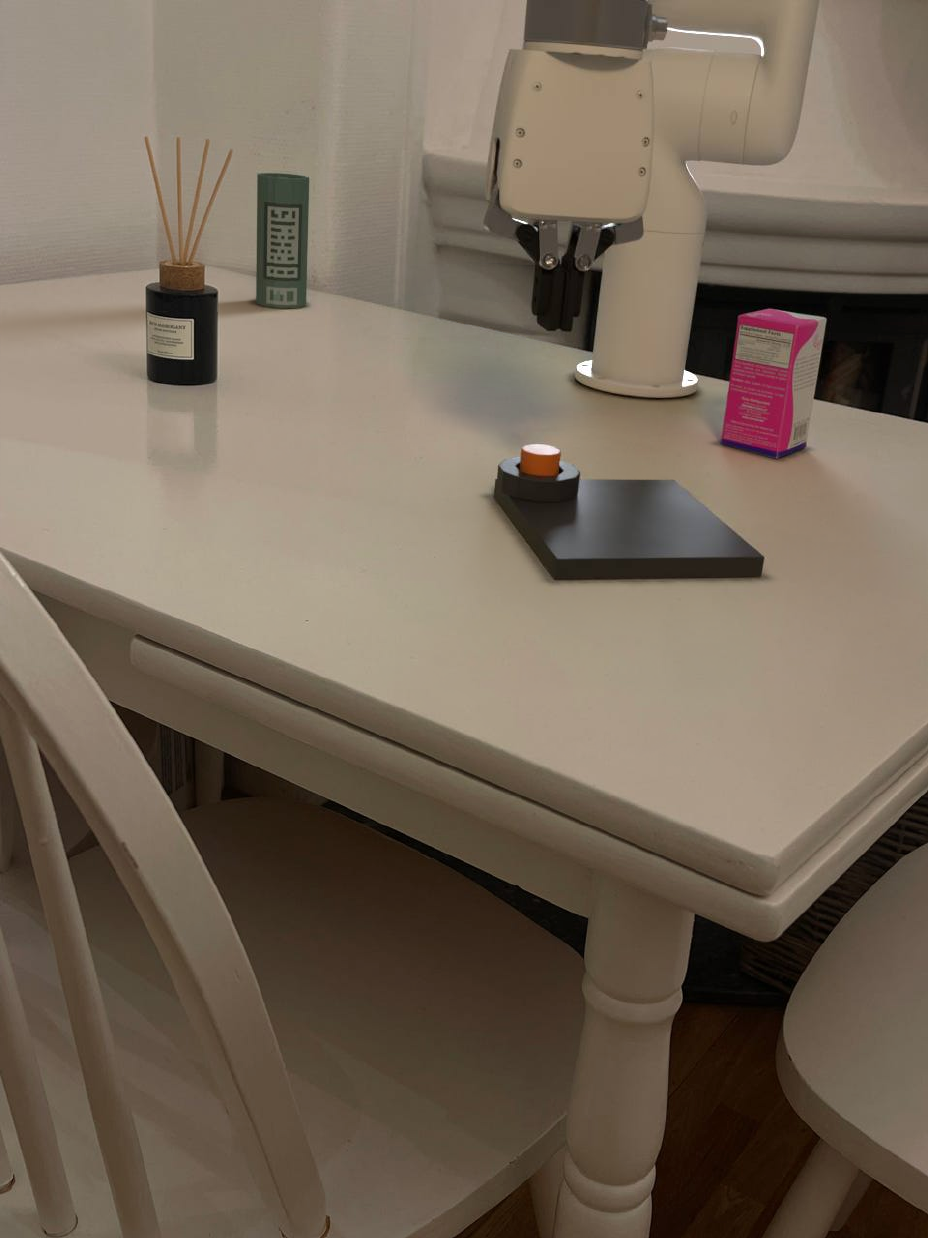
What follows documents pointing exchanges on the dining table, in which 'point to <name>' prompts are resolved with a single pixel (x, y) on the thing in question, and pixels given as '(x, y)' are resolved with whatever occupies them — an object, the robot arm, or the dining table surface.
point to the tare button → (540, 460)
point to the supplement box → (772, 381)
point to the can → (282, 240)
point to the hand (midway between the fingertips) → (553, 326)
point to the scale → (620, 527)
